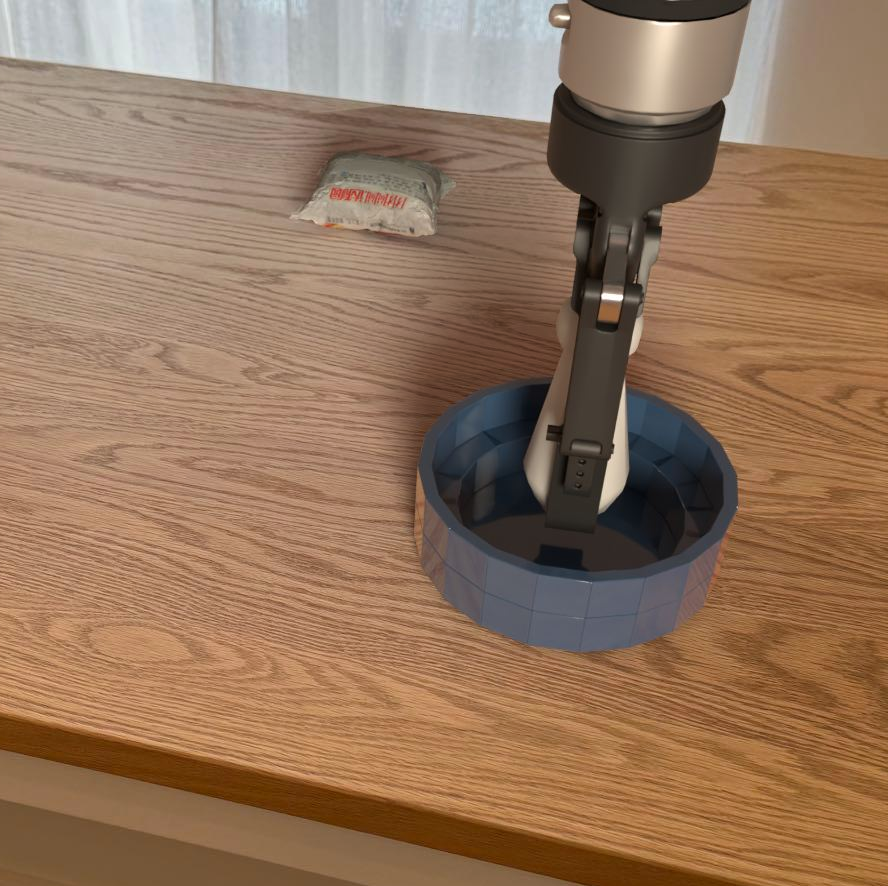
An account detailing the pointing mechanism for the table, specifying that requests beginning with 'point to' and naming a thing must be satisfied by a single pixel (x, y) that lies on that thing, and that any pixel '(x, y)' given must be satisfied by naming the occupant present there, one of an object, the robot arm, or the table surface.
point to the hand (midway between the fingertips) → (573, 487)
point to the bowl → (568, 552)
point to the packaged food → (377, 195)
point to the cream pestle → (552, 413)
